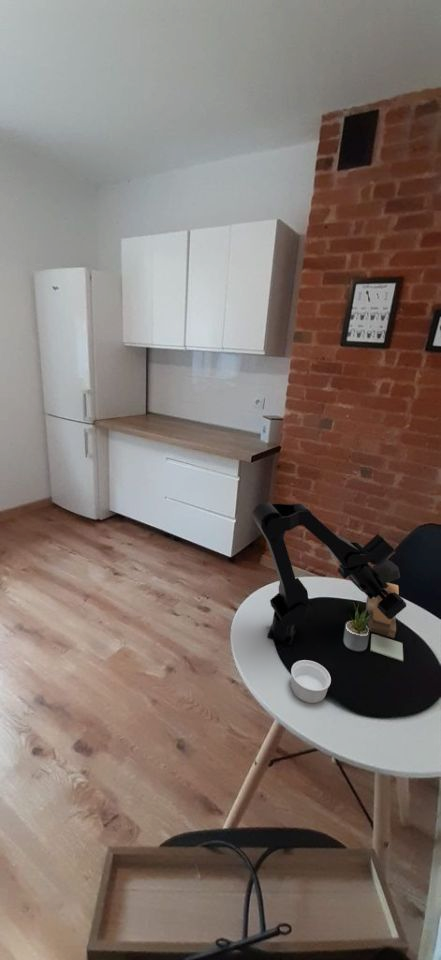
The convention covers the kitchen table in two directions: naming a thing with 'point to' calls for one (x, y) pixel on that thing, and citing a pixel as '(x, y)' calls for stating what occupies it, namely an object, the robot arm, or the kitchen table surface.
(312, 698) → the ramekin
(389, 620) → the orange rectangular block
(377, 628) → the header
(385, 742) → the kitchen table surface
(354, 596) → the kitchen table surface
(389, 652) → the mat
